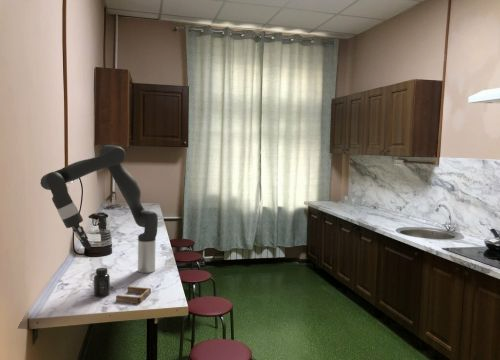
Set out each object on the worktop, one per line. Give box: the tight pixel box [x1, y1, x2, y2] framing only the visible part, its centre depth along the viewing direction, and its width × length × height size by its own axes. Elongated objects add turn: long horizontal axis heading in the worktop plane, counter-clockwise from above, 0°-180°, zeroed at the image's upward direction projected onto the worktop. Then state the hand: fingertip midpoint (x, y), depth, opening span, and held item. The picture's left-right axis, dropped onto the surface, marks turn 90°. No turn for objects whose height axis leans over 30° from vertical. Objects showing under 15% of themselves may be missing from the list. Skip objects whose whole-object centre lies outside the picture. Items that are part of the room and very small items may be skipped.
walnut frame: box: [115, 286, 152, 305], centre depth 174 cm, size 12×11×2 cm
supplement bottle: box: [93, 267, 111, 298], centre depth 176 cm, size 7×7×12 cm
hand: (87, 247), depth 171 cm, fingers open, 8 cm apart
